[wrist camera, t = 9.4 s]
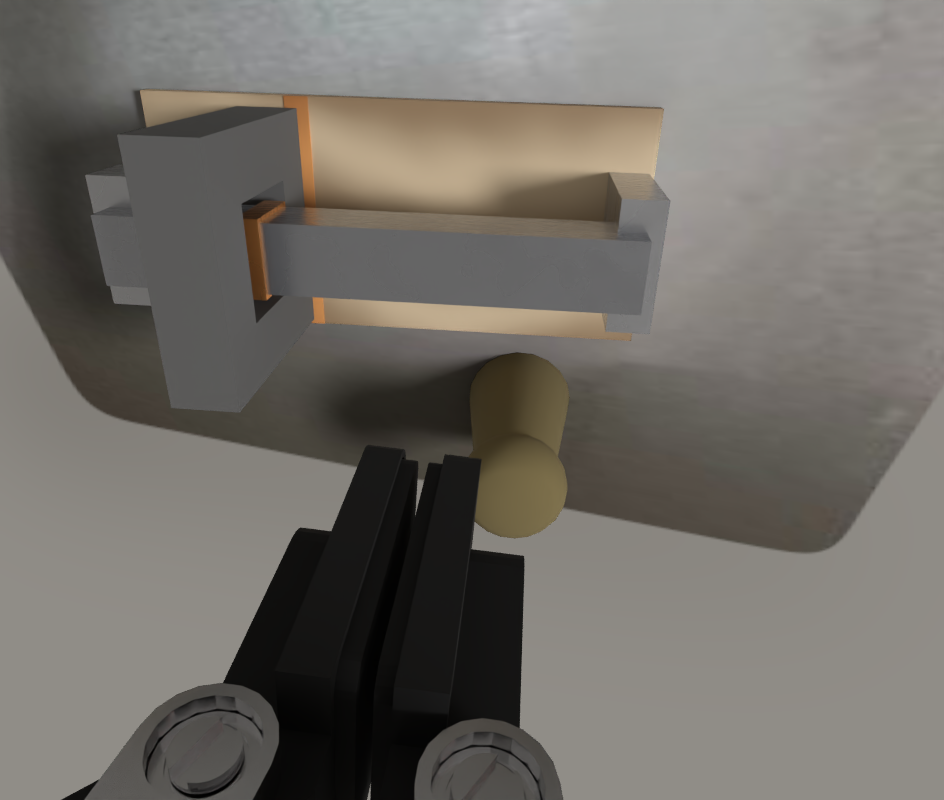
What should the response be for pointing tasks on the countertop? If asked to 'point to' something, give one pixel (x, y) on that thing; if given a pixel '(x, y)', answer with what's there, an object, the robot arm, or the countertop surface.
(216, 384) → the slotted grey block
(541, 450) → the cork
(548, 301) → the grey blocky piece
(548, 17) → the countertop surface
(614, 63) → the countertop surface
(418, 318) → the board
